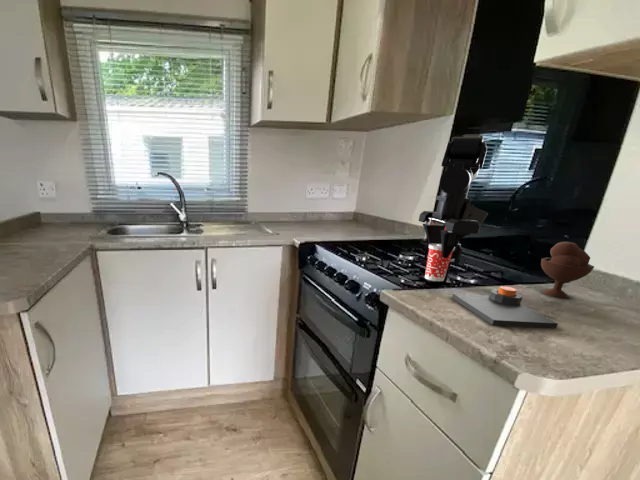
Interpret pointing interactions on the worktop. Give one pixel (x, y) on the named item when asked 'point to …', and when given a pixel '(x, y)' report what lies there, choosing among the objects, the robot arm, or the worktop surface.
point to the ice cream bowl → (565, 266)
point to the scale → (503, 310)
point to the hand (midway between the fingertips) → (438, 254)
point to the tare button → (507, 291)
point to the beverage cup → (436, 263)
